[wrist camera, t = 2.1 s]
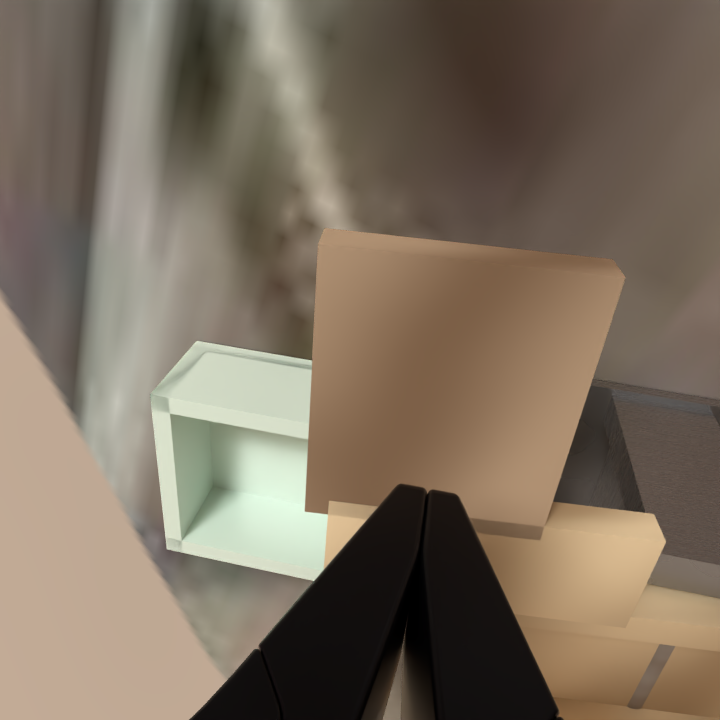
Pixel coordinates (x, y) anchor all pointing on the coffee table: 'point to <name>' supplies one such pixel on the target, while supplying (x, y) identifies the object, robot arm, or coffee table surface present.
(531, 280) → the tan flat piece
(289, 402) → the mint cubby shelf
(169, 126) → the coffee table surface
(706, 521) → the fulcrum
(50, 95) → the coffee table surface
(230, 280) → the coffee table surface
